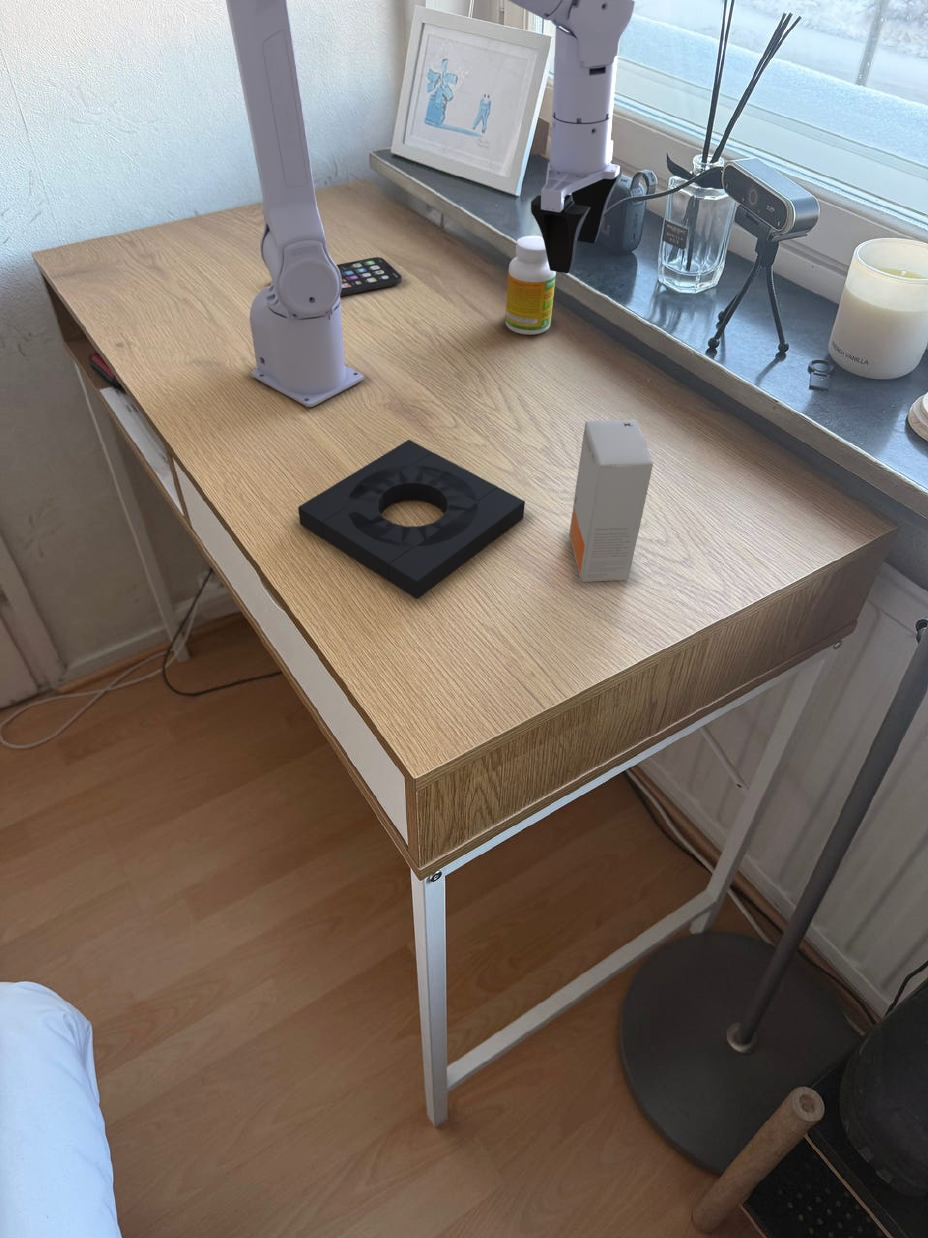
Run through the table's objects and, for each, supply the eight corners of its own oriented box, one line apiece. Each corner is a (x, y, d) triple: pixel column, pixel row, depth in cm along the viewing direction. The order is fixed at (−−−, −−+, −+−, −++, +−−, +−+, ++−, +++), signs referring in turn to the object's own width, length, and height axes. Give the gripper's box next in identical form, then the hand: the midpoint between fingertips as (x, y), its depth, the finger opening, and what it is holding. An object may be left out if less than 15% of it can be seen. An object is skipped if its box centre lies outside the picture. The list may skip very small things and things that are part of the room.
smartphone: (270, 277, 108) (380, 255, 113) (271, 282, 109) (380, 260, 114) (290, 302, 104) (404, 278, 109) (291, 307, 104) (404, 283, 109)
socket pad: (300, 524, 76) (297, 506, 75) (409, 456, 84) (409, 438, 82) (417, 599, 70) (416, 581, 68) (523, 518, 78) (525, 500, 76)
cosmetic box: (566, 536, 76) (584, 418, 67) (614, 535, 76) (637, 417, 68) (579, 584, 72) (599, 464, 63) (629, 582, 72) (656, 463, 63)
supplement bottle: (547, 338, 101) (555, 254, 94) (501, 332, 101) (506, 249, 94) (553, 317, 104) (561, 235, 98) (509, 311, 105) (514, 230, 98)
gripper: (595, 144, 77) (584, 291, 87) (646, 95, 85) (631, 234, 95) (521, 134, 79) (519, 279, 89) (579, 88, 88) (571, 224, 98)
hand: (573, 255), depth 92 cm, fingers open, 7 cm apart
